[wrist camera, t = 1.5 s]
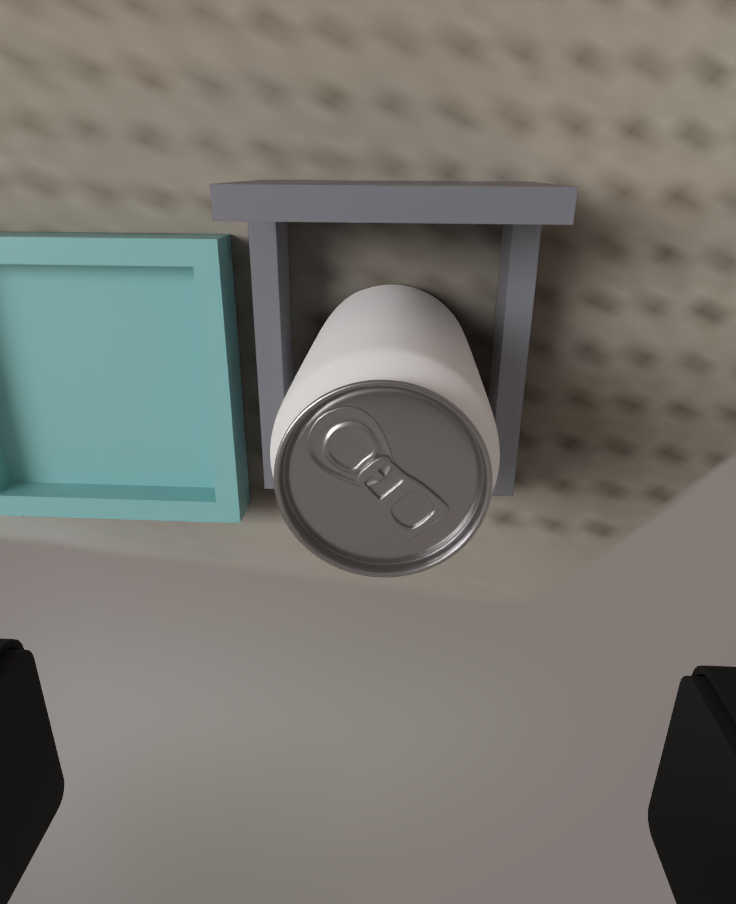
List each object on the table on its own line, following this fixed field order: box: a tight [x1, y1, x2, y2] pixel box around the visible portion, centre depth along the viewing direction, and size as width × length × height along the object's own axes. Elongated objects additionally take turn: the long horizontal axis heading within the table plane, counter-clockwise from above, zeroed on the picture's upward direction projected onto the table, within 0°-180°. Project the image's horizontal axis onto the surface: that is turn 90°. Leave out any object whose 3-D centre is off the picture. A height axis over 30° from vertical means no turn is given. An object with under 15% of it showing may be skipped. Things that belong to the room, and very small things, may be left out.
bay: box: [210, 180, 578, 496], centre depth 24 cm, size 10×12×7 cm
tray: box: [0, 232, 250, 523], centre depth 28 cm, size 12×12×2 cm
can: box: [270, 285, 500, 577], centre depth 22 cm, size 6×6×12 cm
